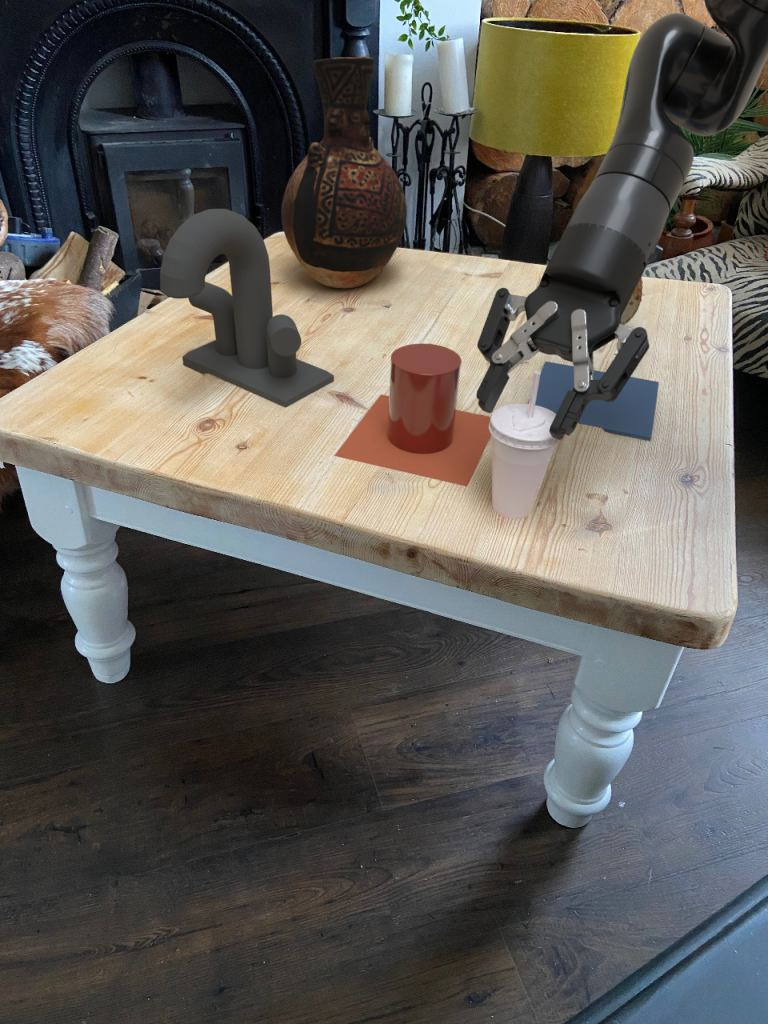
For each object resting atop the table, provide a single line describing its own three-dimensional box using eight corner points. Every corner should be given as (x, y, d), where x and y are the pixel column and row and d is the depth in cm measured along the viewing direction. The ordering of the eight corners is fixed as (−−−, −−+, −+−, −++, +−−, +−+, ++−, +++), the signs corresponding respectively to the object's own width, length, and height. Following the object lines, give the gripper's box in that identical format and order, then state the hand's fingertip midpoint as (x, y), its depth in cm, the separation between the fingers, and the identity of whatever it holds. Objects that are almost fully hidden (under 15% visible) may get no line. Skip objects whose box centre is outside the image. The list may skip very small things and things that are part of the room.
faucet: (130, 385, 87) (95, 206, 74) (230, 341, 97) (213, 177, 84) (239, 438, 78) (220, 246, 66) (336, 384, 88) (335, 209, 76)
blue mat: (544, 363, 95) (545, 361, 94) (658, 384, 91) (658, 381, 91) (523, 415, 84) (523, 411, 84) (650, 440, 81) (651, 437, 80)
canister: (438, 415, 83) (445, 340, 77) (463, 448, 77) (472, 370, 72) (378, 424, 81) (381, 347, 75) (400, 458, 75) (404, 378, 70)
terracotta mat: (380, 397, 86) (380, 394, 86) (498, 421, 83) (499, 418, 83) (334, 458, 76) (333, 455, 75) (466, 489, 72) (467, 486, 72)
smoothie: (556, 504, 71) (585, 371, 62) (529, 540, 66) (556, 401, 58) (495, 482, 73) (515, 351, 65) (465, 515, 69) (482, 379, 60)
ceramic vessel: (354, 314, 105) (356, 69, 87) (257, 287, 112) (240, 55, 94) (426, 272, 119) (441, 55, 101) (337, 250, 126) (335, 43, 108)
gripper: (520, 203, 63) (432, 379, 62) (688, 240, 56) (591, 437, 56) (539, 251, 70) (459, 410, 69) (691, 289, 63) (604, 465, 63)
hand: (519, 421), depth 63 cm, fingers closed on smoothie, 6 cm apart
